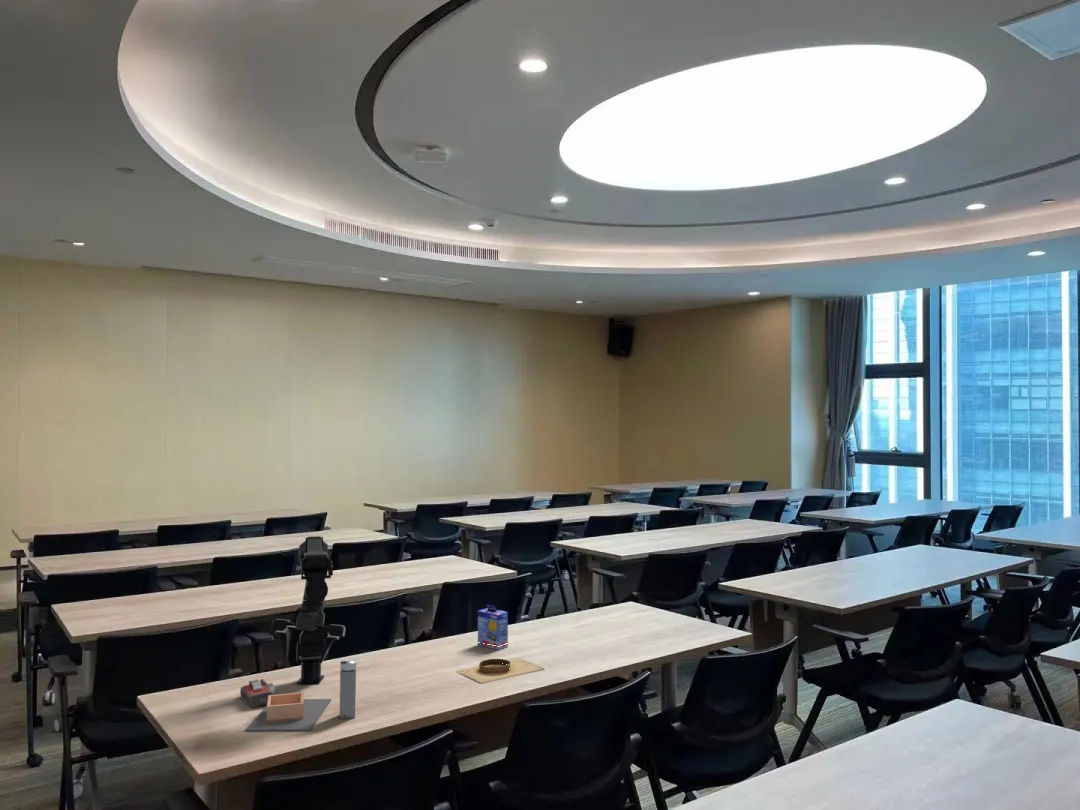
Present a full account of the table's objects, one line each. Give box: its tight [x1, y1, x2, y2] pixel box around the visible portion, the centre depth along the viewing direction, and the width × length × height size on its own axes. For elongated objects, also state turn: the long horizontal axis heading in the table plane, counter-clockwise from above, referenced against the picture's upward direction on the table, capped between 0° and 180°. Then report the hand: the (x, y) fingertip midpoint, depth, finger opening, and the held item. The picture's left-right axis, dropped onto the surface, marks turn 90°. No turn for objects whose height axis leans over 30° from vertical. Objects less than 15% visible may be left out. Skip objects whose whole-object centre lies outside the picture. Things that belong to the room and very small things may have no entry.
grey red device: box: [239, 678, 276, 708], centre depth 216 cm, size 9×4×20 cm
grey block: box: [339, 660, 357, 720], centre depth 202 cm, size 3×4×14 cm
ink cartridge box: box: [477, 604, 509, 651], centre depth 270 cm, size 10×6×14 cm, turn 54°
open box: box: [266, 691, 305, 723], centre depth 201 cm, size 9×9×4 cm
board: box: [455, 657, 546, 685], centre depth 242 cm, size 25×15×3 cm, turn 128°
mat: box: [244, 698, 332, 732], centre depth 202 cm, size 22×16×1 cm
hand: (303, 661), depth 204 cm, fingers open, 9 cm apart
